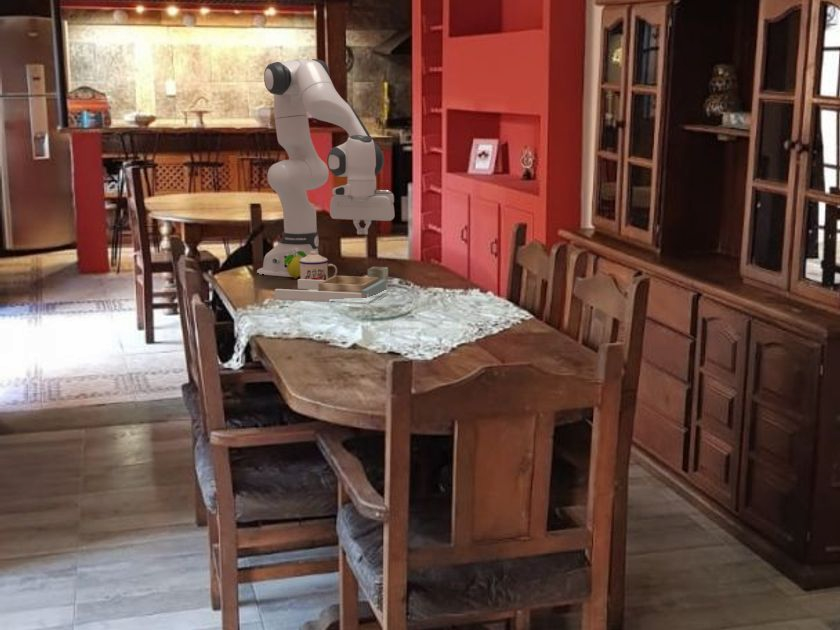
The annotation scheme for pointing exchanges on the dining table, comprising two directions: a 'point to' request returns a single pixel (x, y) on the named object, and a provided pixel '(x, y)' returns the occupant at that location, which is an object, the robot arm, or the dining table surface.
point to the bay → (326, 292)
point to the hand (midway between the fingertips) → (362, 234)
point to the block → (378, 272)
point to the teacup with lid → (315, 267)
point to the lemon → (294, 264)
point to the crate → (347, 284)
